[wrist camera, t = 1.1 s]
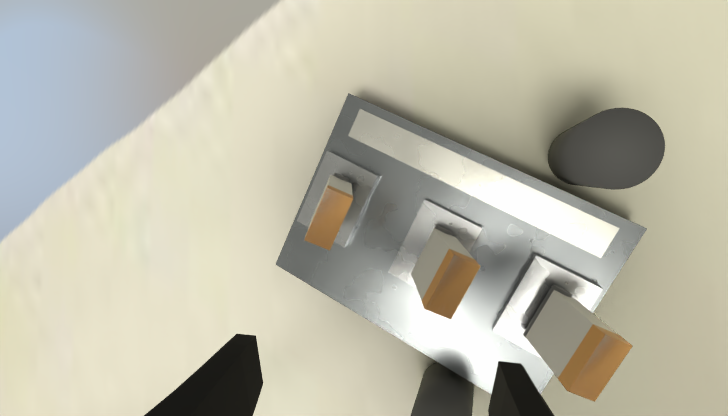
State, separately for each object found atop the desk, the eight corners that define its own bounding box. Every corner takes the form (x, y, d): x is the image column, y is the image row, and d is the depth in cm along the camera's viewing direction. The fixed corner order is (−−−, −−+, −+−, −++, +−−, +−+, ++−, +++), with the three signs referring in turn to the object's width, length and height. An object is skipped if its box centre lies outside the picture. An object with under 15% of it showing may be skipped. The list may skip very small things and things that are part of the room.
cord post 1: (482, 380, 23) (481, 449, 17) (458, 420, 23) (449, 500, 18) (436, 352, 23) (419, 409, 18) (414, 391, 24) (390, 459, 18)
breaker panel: (631, 223, 20) (652, 230, 17) (523, 394, 22) (527, 422, 20) (359, 99, 23) (344, 91, 21) (291, 257, 26) (270, 266, 23)
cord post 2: (625, 141, 20) (682, 127, 14) (593, 195, 20) (635, 203, 14) (566, 117, 20) (598, 95, 15) (537, 170, 21) (556, 168, 15)
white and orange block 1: (452, 231, 20) (481, 263, 16) (428, 277, 20) (449, 321, 16) (431, 221, 20) (454, 252, 16) (407, 268, 20) (423, 311, 16)
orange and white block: (352, 179, 21) (354, 197, 17) (332, 224, 22) (328, 252, 18) (331, 170, 21) (327, 185, 17) (311, 216, 22) (303, 242, 17)
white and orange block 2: (568, 290, 19) (634, 343, 14) (538, 338, 19) (593, 403, 15) (546, 280, 18) (606, 332, 14) (516, 329, 19) (566, 393, 15)
